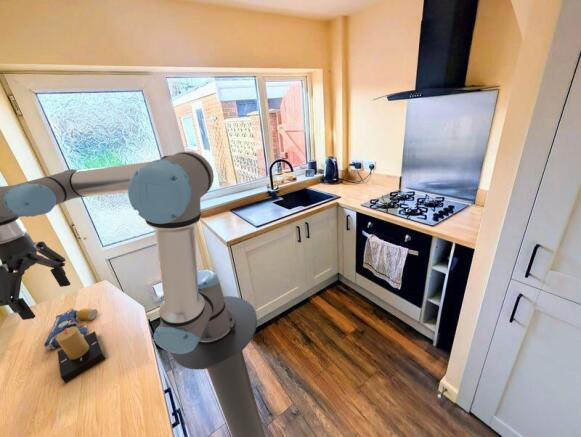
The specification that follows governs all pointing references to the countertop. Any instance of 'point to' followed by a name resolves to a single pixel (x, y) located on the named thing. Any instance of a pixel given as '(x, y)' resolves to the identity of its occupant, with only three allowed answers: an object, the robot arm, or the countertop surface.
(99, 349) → the black dial panel
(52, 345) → the spray gun
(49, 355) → the countertop surface
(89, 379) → the countertop surface
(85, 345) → the brass dial cylinder
